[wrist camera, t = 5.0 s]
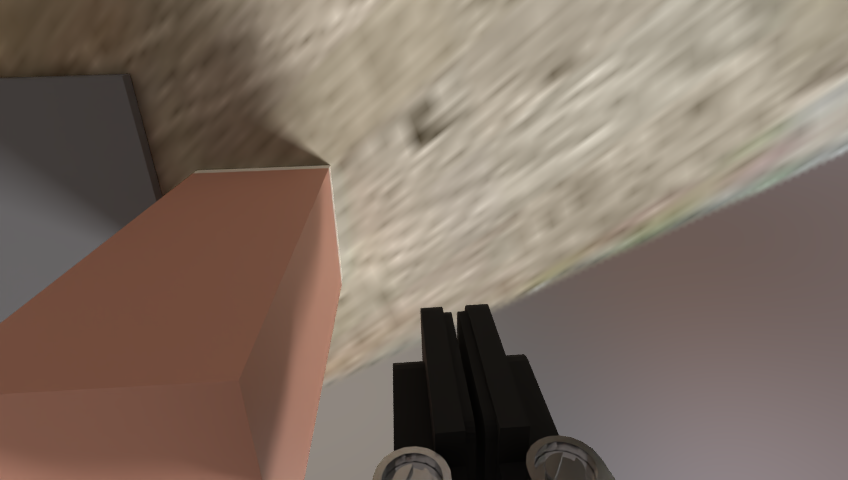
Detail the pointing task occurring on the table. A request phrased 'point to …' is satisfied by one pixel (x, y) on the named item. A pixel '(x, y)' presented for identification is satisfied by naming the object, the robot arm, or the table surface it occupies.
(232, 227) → the salmon pink block
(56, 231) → the mat
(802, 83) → the table surface
